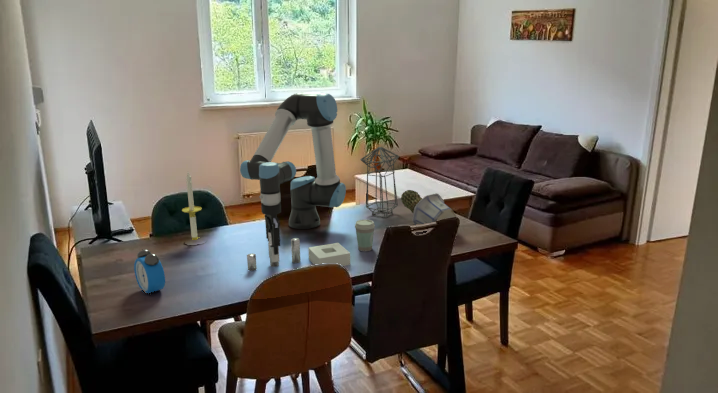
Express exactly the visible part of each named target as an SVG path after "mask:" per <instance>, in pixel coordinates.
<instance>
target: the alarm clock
mask: <svg viewBox="0 0 718 393" xmlns="http://www.w3.org/2000/svg"><path fill="white" fill-rule="evenodd" d="M133 270H134V276H135V279H136V282H137V284H138V285H137V286H138V287H139V289H140V288H141V289H143V290H145V292H146V293H148V294H149V293H150V294H152V293H154V291H155V292H157V291H160V290H163V289H164V288H165V286H166V274H165V271H164V267H163V265H162V262H161V260H160V258H159V256H158V254H155V253H152V252H151V251H150V250H149V249H146V248H145V249H141V250H139V251H137V253H136V259H135V260H134V264H133ZM141 289H140V290H141ZM151 292H152V293H151Z"/></svg>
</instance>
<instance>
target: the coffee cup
mask: <svg viewBox="0 0 718 393" xmlns="http://www.w3.org/2000/svg"><path fill="white" fill-rule="evenodd" d="M354 228H355V234H356V241H357V248H358V250H359V251H361V252H369V251H371V250H372V249H373V243H374V235H375V234H374V233H375V228H376V225H375V222H374V221H373V220H371V219H360V220H357V221H355V224H354Z"/></svg>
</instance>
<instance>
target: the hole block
mask: <svg viewBox="0 0 718 393" xmlns="http://www.w3.org/2000/svg"><path fill="white" fill-rule="evenodd" d="M308 260H309V261H310V262H311V263H312V264H313V265H314V264H322V263H338V264H341V265H343V266H342V267H346V266H347V267H348V266H350V265H351V252H350V251H349V250H348V249H346V248H345V247H344V246H343V245H341V244H340V243H339V242H335V243H328V244H324V245H323V244H321V245H316V246H310V247H308Z"/></svg>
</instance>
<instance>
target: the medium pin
mask: <svg viewBox="0 0 718 393" xmlns="http://www.w3.org/2000/svg"><path fill="white" fill-rule="evenodd" d="M300 242H301V241H300V238H298V237H294V238H291V239H290V244H291V245H290V246H291V263H293V264H300V263H301V248H300V247H301V244H300Z"/></svg>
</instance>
